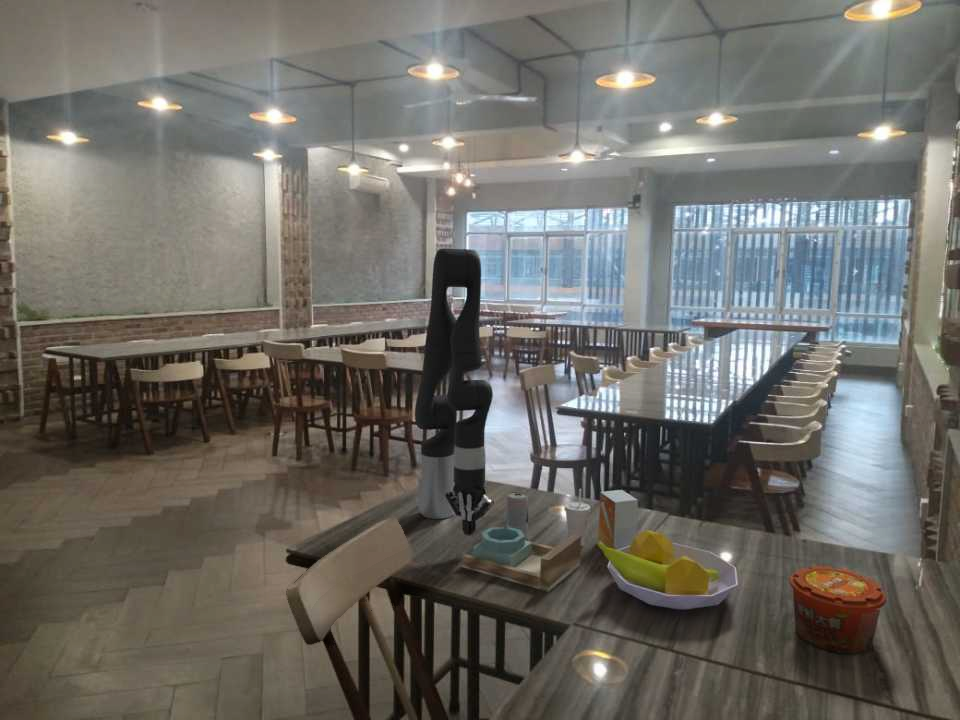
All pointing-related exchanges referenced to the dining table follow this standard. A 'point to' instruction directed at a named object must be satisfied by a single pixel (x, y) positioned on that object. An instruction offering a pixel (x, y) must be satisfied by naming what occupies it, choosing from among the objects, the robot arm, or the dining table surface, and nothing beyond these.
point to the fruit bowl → (670, 572)
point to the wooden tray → (534, 564)
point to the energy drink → (518, 512)
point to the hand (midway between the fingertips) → (469, 534)
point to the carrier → (503, 546)
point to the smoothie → (577, 518)
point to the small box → (617, 519)
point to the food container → (836, 608)
